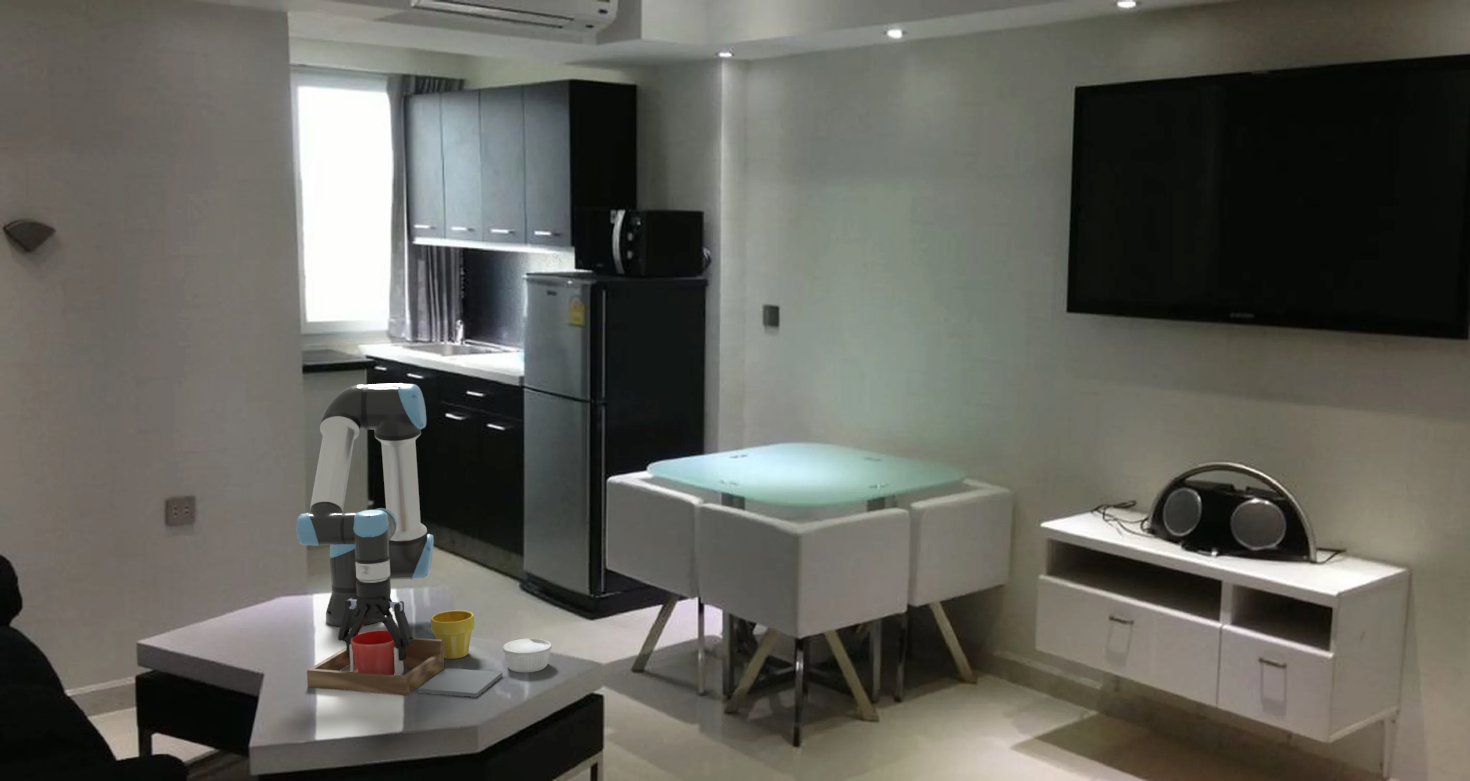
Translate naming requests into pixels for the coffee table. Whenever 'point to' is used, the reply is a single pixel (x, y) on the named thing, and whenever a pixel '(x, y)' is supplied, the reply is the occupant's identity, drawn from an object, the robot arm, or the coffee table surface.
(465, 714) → the coffee table surface
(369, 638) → the flower pot
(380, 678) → the frame
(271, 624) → the coffee table surface
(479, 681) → the rubber mat
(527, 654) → the ramekin
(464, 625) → the plant pot
